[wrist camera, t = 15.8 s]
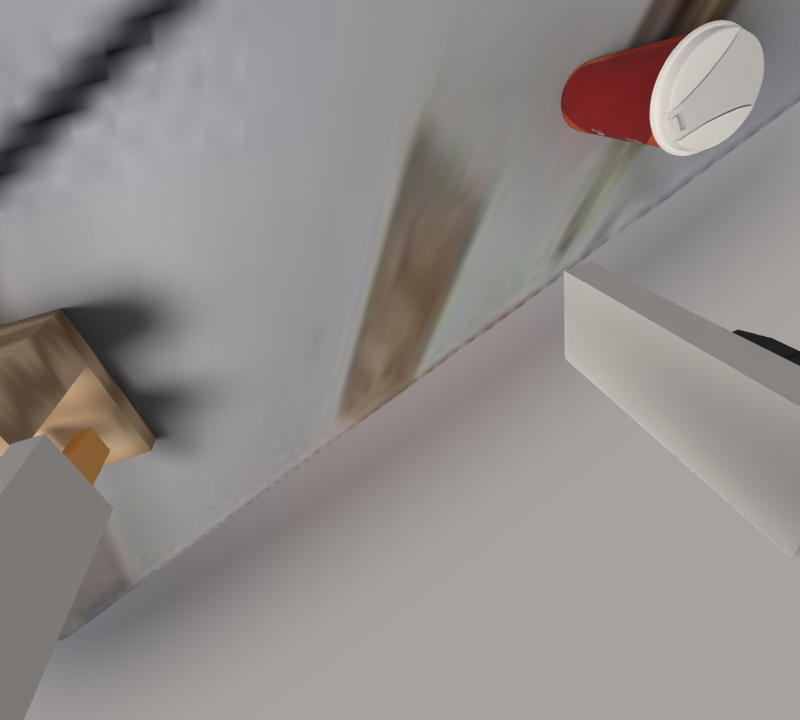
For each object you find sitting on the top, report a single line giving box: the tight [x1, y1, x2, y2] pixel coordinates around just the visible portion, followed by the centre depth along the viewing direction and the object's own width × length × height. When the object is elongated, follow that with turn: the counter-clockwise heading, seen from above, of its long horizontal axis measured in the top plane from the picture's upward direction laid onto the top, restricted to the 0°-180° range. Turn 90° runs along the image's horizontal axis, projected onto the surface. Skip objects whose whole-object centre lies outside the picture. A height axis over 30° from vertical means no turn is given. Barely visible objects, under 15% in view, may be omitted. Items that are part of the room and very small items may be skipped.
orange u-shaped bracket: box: [62, 427, 111, 486], centre depth 35 cm, size 3×8×10 cm, turn 103°
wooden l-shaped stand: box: [0, 308, 156, 466], centre depth 36 cm, size 17×10×14 cm, turn 13°
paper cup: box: [561, 20, 764, 156], centre depth 34 cm, size 8×8×14 cm
